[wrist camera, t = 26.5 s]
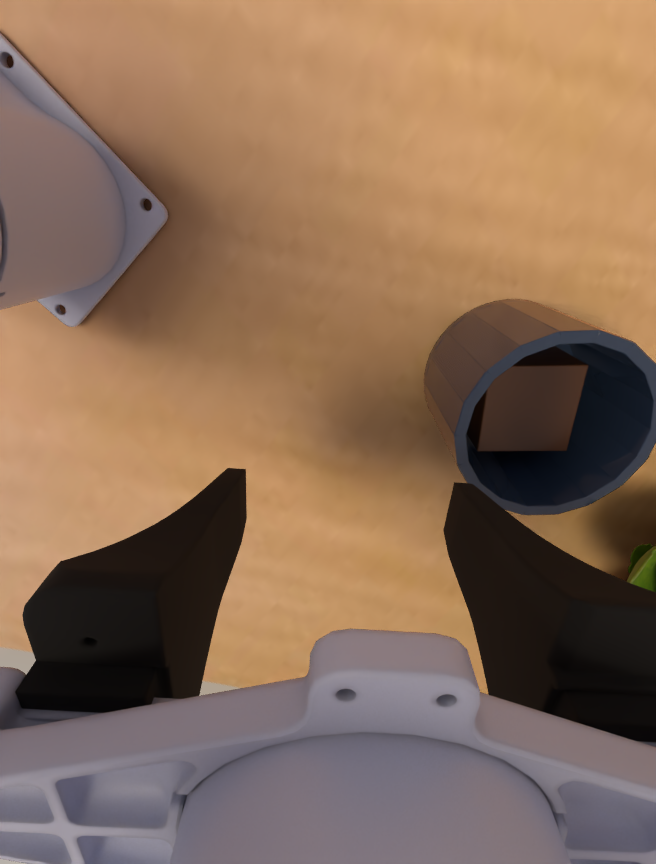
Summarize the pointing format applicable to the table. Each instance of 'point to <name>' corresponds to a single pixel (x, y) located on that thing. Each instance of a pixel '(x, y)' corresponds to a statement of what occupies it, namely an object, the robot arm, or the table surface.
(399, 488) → the table surface
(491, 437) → the block
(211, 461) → the table surface
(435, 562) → the table surface
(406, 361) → the table surface
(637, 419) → the cup
